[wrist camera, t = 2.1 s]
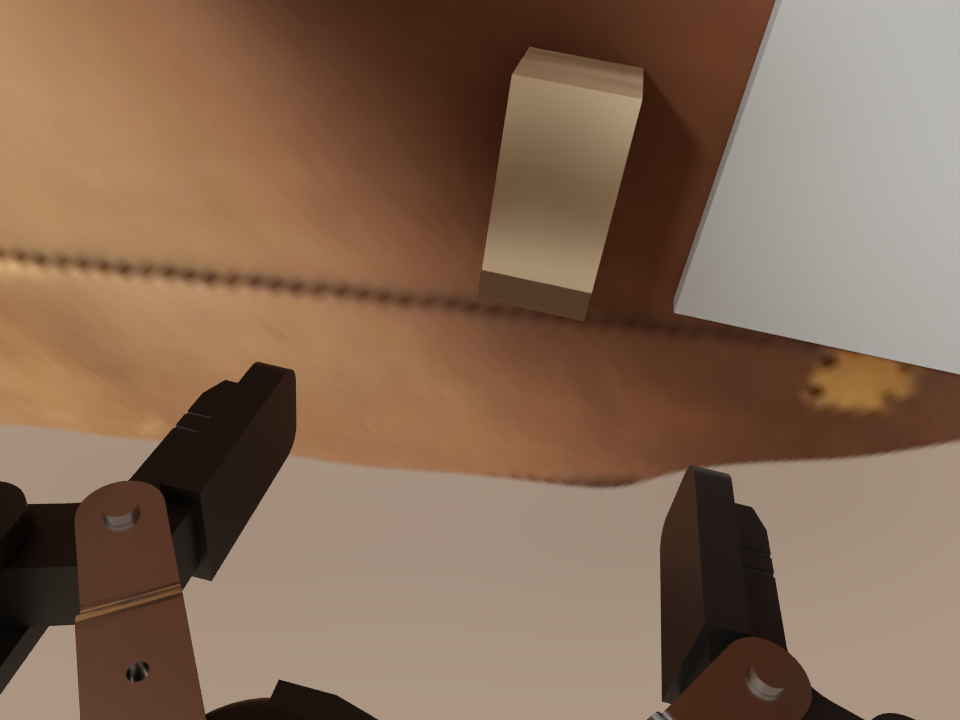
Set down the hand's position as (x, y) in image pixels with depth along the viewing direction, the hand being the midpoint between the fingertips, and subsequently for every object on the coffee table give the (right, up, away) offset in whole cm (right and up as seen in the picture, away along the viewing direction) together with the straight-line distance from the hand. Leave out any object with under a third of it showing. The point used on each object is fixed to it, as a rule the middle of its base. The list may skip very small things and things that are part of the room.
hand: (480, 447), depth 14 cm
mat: (+15, +8, +10) cm, 20 cm away
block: (+3, +9, +13) cm, 16 cm away
